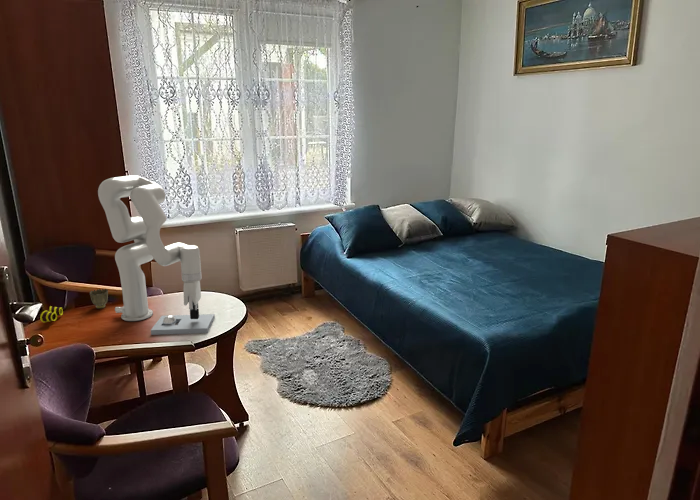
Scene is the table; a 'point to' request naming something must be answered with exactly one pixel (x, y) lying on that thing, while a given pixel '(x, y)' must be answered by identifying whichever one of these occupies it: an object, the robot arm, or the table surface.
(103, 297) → the cup
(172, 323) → the steel ball
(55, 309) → the yellow looped piece
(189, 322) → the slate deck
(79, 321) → the table surface
